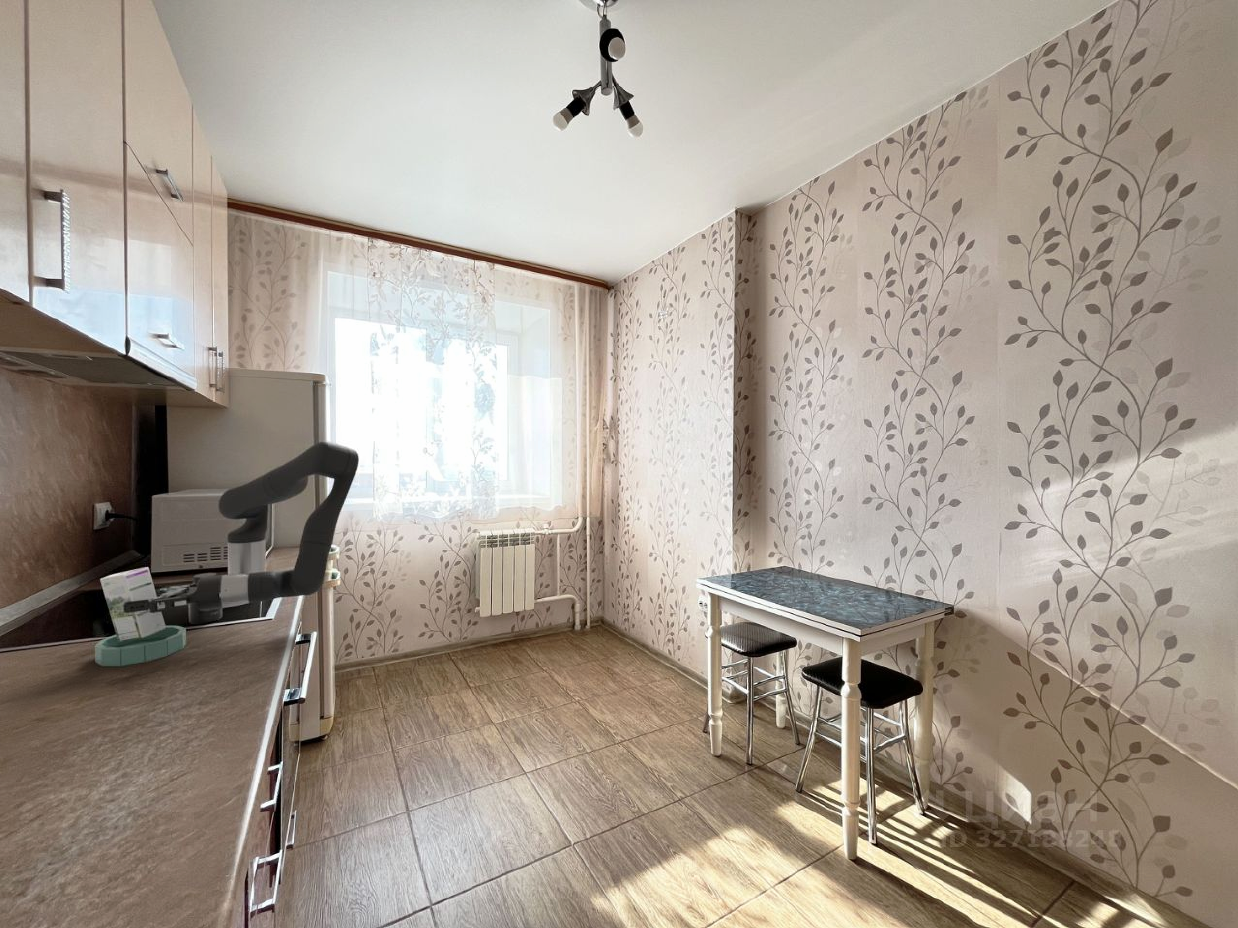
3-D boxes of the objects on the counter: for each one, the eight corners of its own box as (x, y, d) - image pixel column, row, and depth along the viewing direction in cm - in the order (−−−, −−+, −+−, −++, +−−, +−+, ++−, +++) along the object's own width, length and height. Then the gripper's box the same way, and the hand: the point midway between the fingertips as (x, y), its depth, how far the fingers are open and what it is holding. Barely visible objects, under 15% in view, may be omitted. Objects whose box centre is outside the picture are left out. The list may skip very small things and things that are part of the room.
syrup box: (167, 627, 112) (150, 565, 111) (141, 638, 106) (122, 573, 106) (144, 632, 113) (126, 570, 112) (116, 643, 107) (98, 578, 106)
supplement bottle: (182, 623, 129) (181, 576, 129) (210, 614, 136) (209, 570, 135) (201, 625, 127) (200, 578, 127) (229, 617, 134) (228, 572, 133)
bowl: (109, 648, 112) (109, 632, 112) (190, 636, 120) (190, 621, 120) (85, 671, 100) (85, 654, 100) (177, 656, 108) (176, 640, 108)
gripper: (228, 569, 123) (139, 578, 115) (219, 581, 111) (118, 593, 103) (229, 599, 123) (140, 611, 115) (220, 615, 111) (120, 629, 103)
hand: (130, 602), depth 109 cm, fingers closed on syrup box, 8 cm apart
